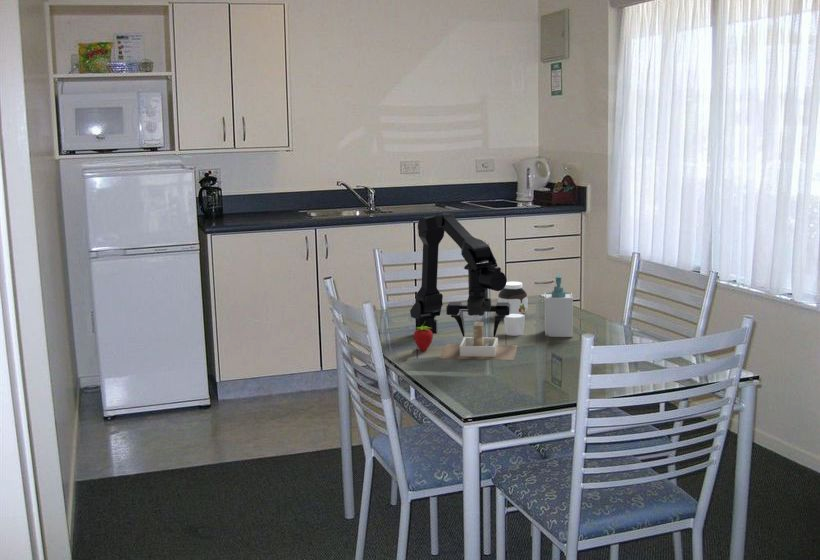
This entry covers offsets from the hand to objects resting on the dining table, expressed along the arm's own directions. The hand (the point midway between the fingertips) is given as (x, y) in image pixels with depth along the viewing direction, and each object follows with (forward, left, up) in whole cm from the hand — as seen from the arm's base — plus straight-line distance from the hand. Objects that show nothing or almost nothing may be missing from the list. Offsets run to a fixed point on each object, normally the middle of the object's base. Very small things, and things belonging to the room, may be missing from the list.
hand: (479, 336), depth 269 cm
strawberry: (-17, +1, -6) cm, 18 cm away
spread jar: (+6, +52, -6) cm, 53 cm away
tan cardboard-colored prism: (0, 0, -4) cm, 4 cm away
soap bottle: (+23, +26, -6) cm, 35 cm away
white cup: (+9, +22, -6) cm, 24 cm away
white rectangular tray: (0, 0, -5) cm, 5 cm away
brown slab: (0, 0, -6) cm, 6 cm away
